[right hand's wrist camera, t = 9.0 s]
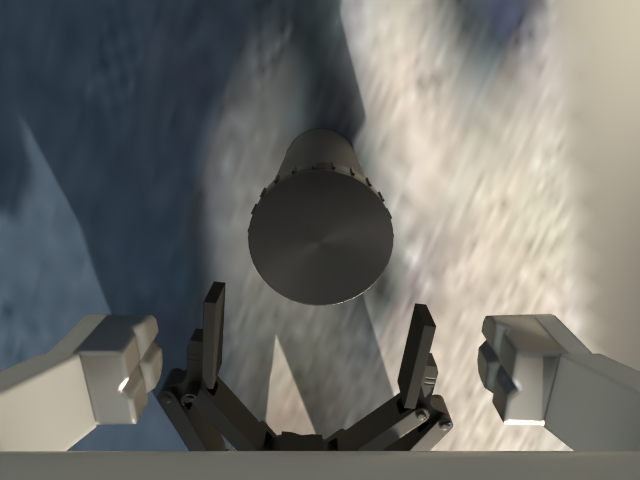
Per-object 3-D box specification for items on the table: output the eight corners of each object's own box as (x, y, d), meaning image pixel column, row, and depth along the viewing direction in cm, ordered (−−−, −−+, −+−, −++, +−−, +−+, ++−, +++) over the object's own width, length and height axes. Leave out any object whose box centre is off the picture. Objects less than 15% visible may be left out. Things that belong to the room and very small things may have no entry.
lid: (338, 311, 19) (340, 330, 18) (227, 246, 18) (219, 261, 17) (416, 210, 17) (425, 222, 16) (299, 131, 16) (297, 137, 15)
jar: (330, 211, 32) (337, 315, 18) (272, 174, 31) (232, 254, 17) (370, 154, 30) (411, 220, 16) (309, 113, 29) (301, 148, 15)
